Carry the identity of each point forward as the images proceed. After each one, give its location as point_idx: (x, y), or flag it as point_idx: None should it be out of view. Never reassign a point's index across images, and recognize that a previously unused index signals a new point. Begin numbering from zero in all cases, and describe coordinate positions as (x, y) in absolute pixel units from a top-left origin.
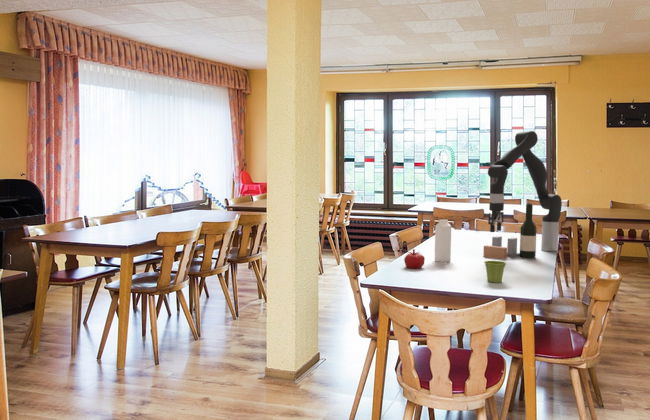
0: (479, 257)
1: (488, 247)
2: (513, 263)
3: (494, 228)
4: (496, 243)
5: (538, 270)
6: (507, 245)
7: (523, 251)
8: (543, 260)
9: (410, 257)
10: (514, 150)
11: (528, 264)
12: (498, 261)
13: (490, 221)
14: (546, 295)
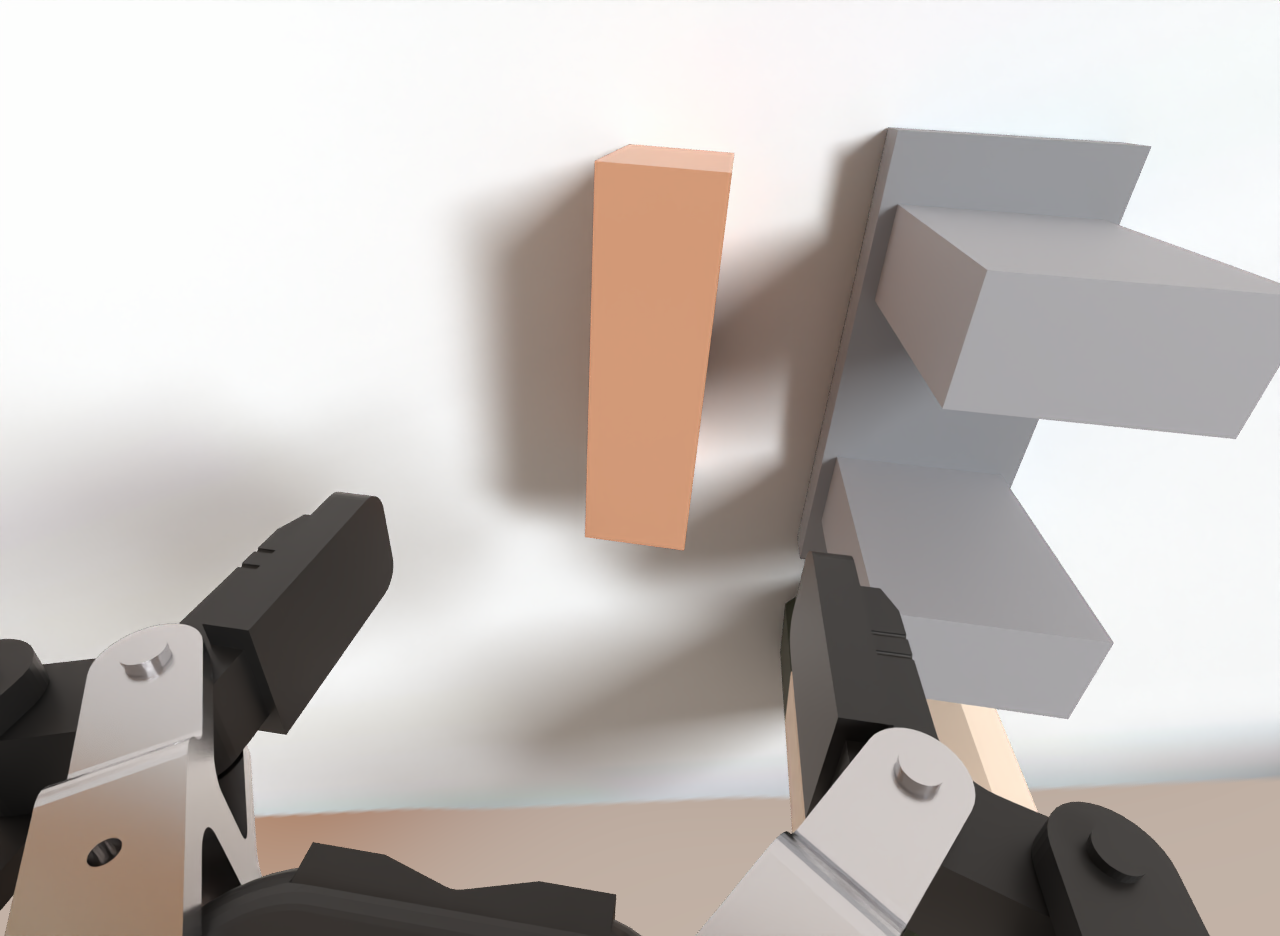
0: (491, 131)
1: (595, 268)
2: (409, 594)
3: (332, 651)
4: (911, 338)
5: (287, 766)
6: (853, 527)
7: (788, 672)
8: (765, 755)
9: None
10: None
11: (463, 693)
12: None
13: (76, 751)
14: None
